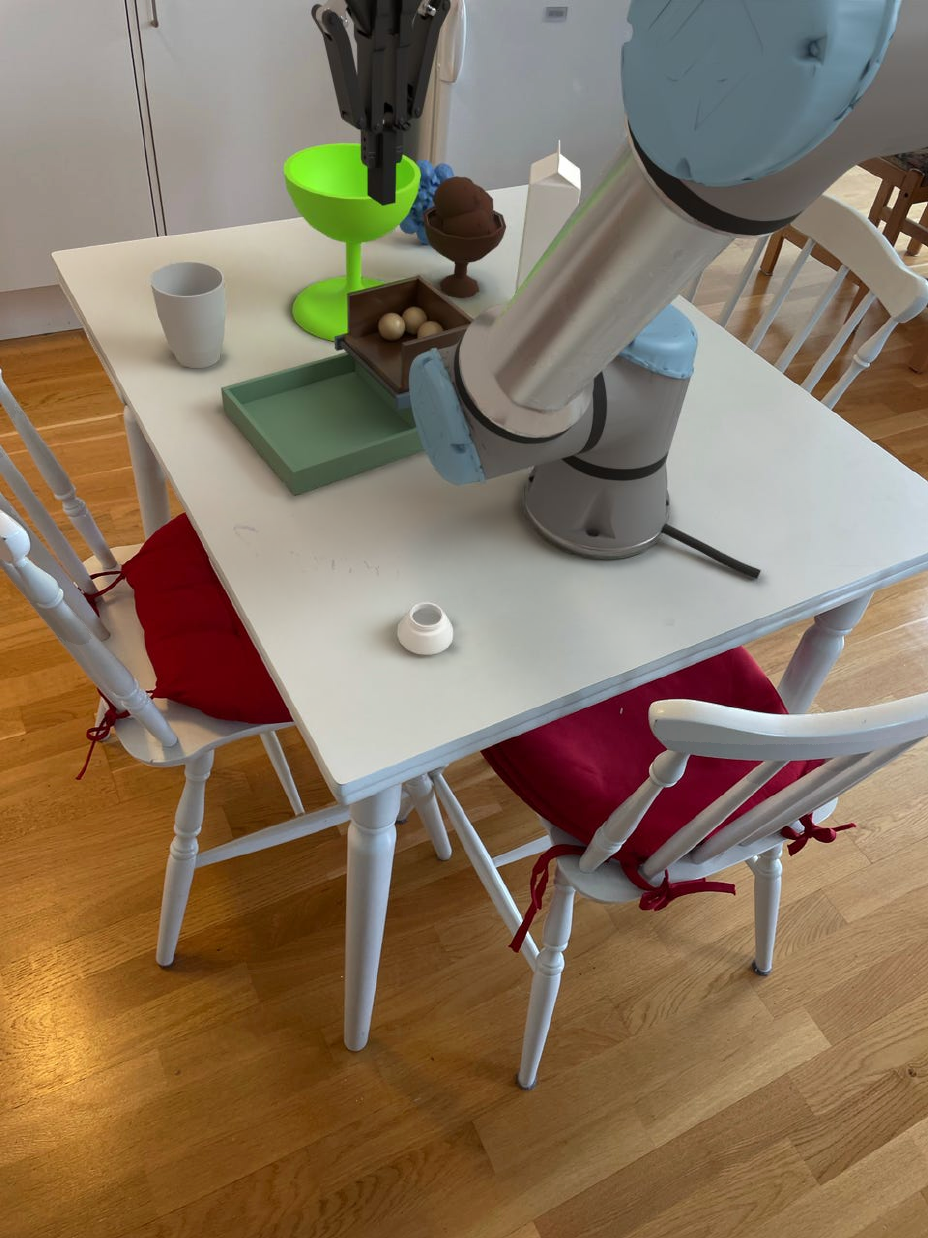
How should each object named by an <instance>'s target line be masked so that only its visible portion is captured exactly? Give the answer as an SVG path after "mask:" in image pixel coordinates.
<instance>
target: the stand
mask: <svg viewBox="0 0 928 1238" xmlns="http://www.w3.org/2000/svg"><path fill="white" fill-rule="evenodd" d="M334 340H335V341H334V350H336V352H339V351H343V350H344V349H343V348H342V347H341V346H340V342H341V341H343V334H342V335H338V336H335V337H334ZM407 407H411V400H410V392H409V391H408V392H405V393H402V394H399V395H396V398H395V408H396V409H397V410H401V409H404V408H407Z"/></svg>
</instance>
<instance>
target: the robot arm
mask: <svg viewBox="0 0 928 1238" xmlns="http://www.w3.org/2000/svg"><path fill="white" fill-rule="evenodd" d="M451 7H452V2H451V0H327V1H326V2H325V3H324V4H323V5H322V4H320V3H315V4H314V5H313V6H312V7H311V10H310V15H311V17H312V20H313V21H314V23H315V25H316V26H317V28H318V30H319V31H320V33H321V35H322V38H323V43H324V48H325V52H326V56H327V61H328V65H329V70H330V75H331V78H332V83H333V88H334V92H335V97H336V101H337V105H338V111H339V114H340V118H341V119H342V120H343V121H344V122H345V123H347V124H349V125H350V126H351V127H352V128H353V127H354V128H355V129H357V130H359V131H360V144H361V161H362V163H363V164H364V165H365V166H367V195H368V196H369V197H371V198H372V199H374V200H375V201H376V202H378V203H379V204H381V205H382V206H384V205H388V204H393V203H396V163H401V160H402V157H403V155H404V154H403V153H404V152H403V150H404V147H403V146H404V133H407V132H409V131H410V129H411V127H412V124H411V123H410V121H411V120H413V119H415V120H418V119H420V118H421V117H422V115H423V111H424V108H425V103H426V97H427V93H428V89H429V83H430V80H431V75H432V70H433V65H434V61H435V56H436V52H437V51H436V50H437V46H438V41H439V37H440V34H441V33H440V32H441V28H442V27H443V24H444V22H445V21H446V18H447V16H448V15H449V12H450V10H451ZM628 7H629V8H628V10H627V15H626V16H627V17H626V21H627V23H628V24H630V25H631V28H632V35H631V38H630V39H629V41H625V42H623V43H622V45H621V49H620V50H621V51H620V83H621V94H622V102H623V108H624V111H623V112H624V126H625V131H626V135H625V137H624V138H623V140H622V141H621V142H620V144H619V145H618V147H617V148H616V150H615V151H614V152H613V154H612V155H611V157H610V158H609V159H608V161H607V162H606V164H605V165H604V166H603V168H602V170H601V171H600V172H599V174H598V175H597V177H596V178H595V180H594V181H593V182H592V183H591V185H590V187H589V188H588V190H587V191H586V192H585V194H584V195H583V196H582V198H581V200H579V204H578V205H577V207H576V208H575V210H574V211H573V212H572V214H571V215H570V217H569V218H568V220H567V221H566V222H565V224H564V225H563V227H562V228H561V230H560V231H559V232H558V234H557V235H556V237H555V238H554V240H553V241H552V242H551V244H550V245H549V247H548V248H547V250H546V251H545V252H544V254H543V255H542V257H541V258H540V259H539V261H538V262H537V264H536V265H535V267H534V268H533V269H532V271H531V272H530V274H529V275H528V277H527V278H526V279H525V281H524V282H523V284H522V285H521V287H520V288H519V289H518V291H517V292H516V291H515V292H516V294H515V293H514V295H513V296H512V298H511V299H510V301H509V302H507V301H506V302H503V303H499V304H496V305H493V306H491V307H489V308H487V309H485V310H484V311H483V312H481V313H479V314H478V316H476V317H475V318H473V319H474V320H473V322H472V323H471V324H470V325H469V327H468V328H467V330H466V332H465V333H464V334H463V336H462V337H461V339H460V340H459V342H458V343H457V344H455V345H453V346H451V347H447V348H443V349H438V350H437V348H432V349H431V350H430V351H428V352H425V353H422V354H420V355H418V356H417V357H416V358H415V359H414V360H413V362H412V364H411V368H410V373H409V392H410V400H411V406H412V411H413V416H414V420H415V423H416V427H417V430H418V433H419V436H420V439H421V442H422V445H423V447H424V449H425V450H424V451H425V454H426V456H427V458H428V460H429V462H430V464H431V465H432V467H433V469H435V471H436V472H437V474H438V476H440V477H441V479H443V480H444V481H445V482H447V483H448V484H450V485H454V486H464V485H470V484H476V483H479V484H483V483H485V482H486V481H488V480H491V479H495V478H498V477H501V476H502V477H503V476H505V475H509V474H513V473H516V472H520V471H523V470H526V469H529V468H532V469H531V470H530V472H529V474H528V476H527V479H526V481H525V484H524V488H523V495H522V501H521V502H522V511H523V514H524V518H525V520H526V521H527V522H528V525H530V527H531V528H532V529H533V530H534V532H536V534H537V535H539V536H540V537H541V538H542V539H543V540H544V541H546V542H548V543H549V544H551V545H552V546H554V547H556V548H558V549H560V550H562V551H565V552H567V553H570V554H573V555H576V556H580V557H583V558H584V557H585V558H588V559H589V558H590V559H599V560H616V559H617V560H618V559H624V558H625V559H626V558H630V557H633V556H636V555H639V554H642V553H644V552H646V551H647V550H649V549H650V548H651V549H652V548H653V547H654V546H655V545H656V544H657V543H658V542H659V541H660V540H661V539H662V537H663V535H666V536H668V537H670V538H672V539H674V540H676V541H678V542H680V543H682V544H684V545H685V546H687V547H690V548H691V549H694V550H696V551H697V552H699V553H702V554H703V555H705V556H707V557H709V558H711V559H712V560H714V561H716V562H718V563H720V564H721V565H724V566H726V567H727V568H730V569H732V570H734V571H736V572H737V573H740V574H743V575H745V576H748V577H750V578H753V579H755V580H757V579H758V578H759V576H760V574H761V572H762V570H761V569H760V568H757V567H754V566H752V565H750V564H746V563H745V562H743V561H740V560H738V559H735V558H734V557H732V556H729V555H727V554H725V553H724V552H722V551H720V550H718V549H716V548H715V547H713V546H710V545H708V544H707V543H705V542H704V541H701V540H700V539H698V538H695V537H693V536H692V535H689V534H687V533H685V532H683V531H682V530H680V529H677V528H676V527H673V526H672V525H669V524H668V521H669V518H670V512H671V499H670V494H669V490H668V471H667V470H668V469H667V460H668V456H669V452H670V448H671V445H672V442H673V439H674V435H675V432H676V428H677V425H678V422H679V418H680V415H681V412H682V409H683V405H684V402H685V399H686V395H687V391H688V389H689V385H690V381H691V380H692V379H691V378H692V377H693V375H694V373H695V371H694V370H695V367H694V362H695V358H696V354H697V350H698V345H699V338H698V332H697V329H696V327H695V326H694V324H693V322H692V321H691V320H690V318H689V317H688V316H687V315H686V314H685V313H684V312H683V311H681V310H680V309H679V308H678V307H676V306H674V305H673V304H672V302H673V301H674V300H675V299H676V298H677V297H678V296H679V295H680V294H682V292H683V291H684V290H685V289H687V288H688V286H690V285H691V283H693V281H695V279H696V278H698V276H700V274H701V273H703V271H705V269H706V268H708V267H709V266H710V265H711V264H712V263H713V262H714V261H715V260H716V259H717V258H718V257H719V256H720V254H722V253H723V252H724V250H726V249H727V248H728V247H729V246H730V245H731V244H732V243H733V242H734V241H735V240H736V239H744V240H751V239H759V238H764V237H765V238H766V237H767V236H771V235H774V234H776V233H778V232H780V231H782V230H783V229H785V228H786V227H787V226H788V225H790V224H791V223H793V222H794V221H795V220H796V219H797V218H798V217H799V216H801V214H803V212H804V211H806V209H808V208H809V207H810V206H811V205H812V204H814V202H816V200H817V199H819V198H820V197H821V196H822V195H823V194H824V193H825V192H826V191H827V190H828V189H830V187H831V186H833V185H834V184H835V183H836V182H837V181H838V180H839V179H840V178H841V177H842V176H844V175H845V174H846V173H847V172H848V171H849V170H851V169H853V168H855V167H856V166H858V165H859V164H861V163H864V162H865V161H868V160H871V159H875V158H883V157H887V156H893V155H899V154H905V153H911V152H915V151H921V150H928V0H631V1H630V4H629V6H628ZM346 14H347V15H348V16H349V18H350V20H351V21H352V23H353V38H354V41H355V43H356V63H355V58H354V53H353V49H352V44H351V39H350V36H349V33H348V31H347V29H346V28H348V27H349V21H348V18H347V15H346Z"/></svg>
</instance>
